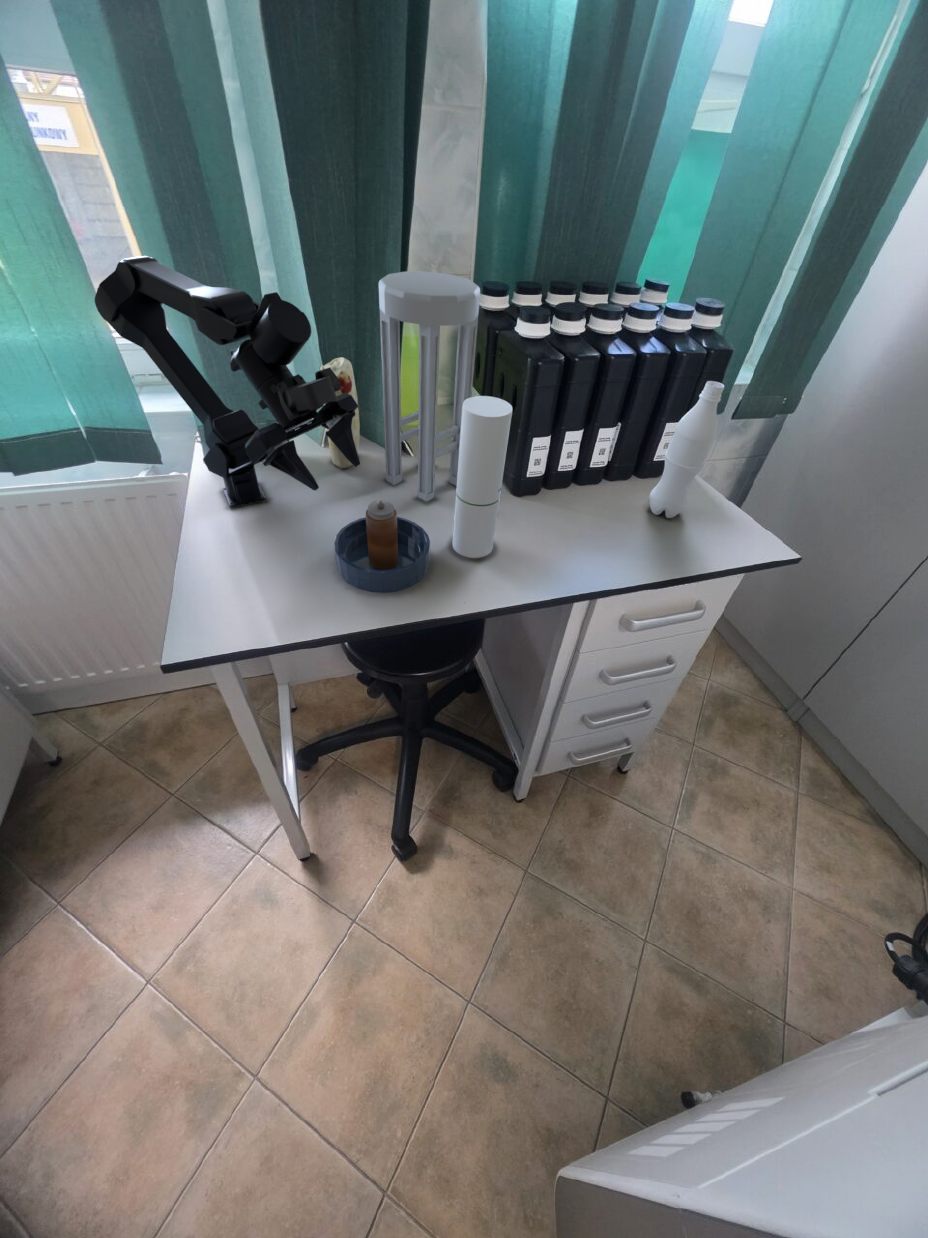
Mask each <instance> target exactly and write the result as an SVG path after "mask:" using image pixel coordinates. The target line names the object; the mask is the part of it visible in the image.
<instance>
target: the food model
mask: <svg viewBox="0 0 928 1238" xmlns="http://www.w3.org/2000/svg"><path fill="white" fill-rule="evenodd" d="M329 367H330V368H331V370H332V371H333V372H334V374H335V375H336V376H337V378H338V380H339V383H340V386H341V388H340V390H339V391H336V392H335V394H336V396H338V395H341V394H343V393H347V394H350V395H352V397H353V398H354V400H355V401H356V403H357V405H358V406H359V401H358V392H357V386H356V382H355V380H356V379H355V375H354V369H353V364H352V363H351V361H350V360H348V359H347V358H346V357H341V356H340V357H336V358H333V359H332V360H331V361H329V362H328V363H326V364H324V365H323V364H321V366H320V369H319V371H320V370H323V369H326V368H329ZM324 405H325V404H324ZM355 414H356V415H355V416H354V417H353V418H352V426H351V428H352V434H353V439H354V443H355V446H356V450H357V454H358V455H359V446H360V427H361V426H360V411H359V407H358V408H357V409H356V410H355ZM329 430H330V429H327V428H326V433H327V432H328V431H329ZM327 440H328V447H329V454H330V459H331V461H332V464H333V465H334V466H336V467H338V468H340V469H346V468H350V467H352V466H353V464H352V463H351V462H350V461H349V460H348V459H347V458H346V457H345V456H344V455H343V453H342V452H341V451H340V450H339V449H338V448H337V446H336V445H335V444H334V443H333V442H332V441H331V439H330V438H329V437H328V436H327Z"/></svg>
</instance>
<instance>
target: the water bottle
mask: <svg viewBox="0 0 928 1238" xmlns="http://www.w3.org/2000/svg"><path fill="white" fill-rule="evenodd" d="M724 390H725V384H723V383H721V382H719V381H715V380H707V381H706V383H705V385H704V387H703V389H702V390H701V393H700V394H699V395H698V398H699V399H698V400H697V402H696V403H695V405H694V406H692V408H690V409H689V411H687V412H686V413H685V414H684V415H683V416H682V417H681V419H679V421H678V422H677V424H676V426H675V427H674V433H673V435H672V438H671V440H670V442H669V445H668V447H667V451H666V452H665V454H664V466H663V473H662V475H661V478H660V480H659V481H658V483H657V485H656V486H655V487H654V488H653V489H652V490H651V491H650V494H649V496H648V505H649V508H650V511H651V512H652V514H653V515H656V516H659V515H660V514H662V513H663V511H664V515H665V518H667V519H673V518H674V517H676V516H677V515H679V514H680V513H681V512H682V511H683V510H684V509H685V507H686V505H687V503H688V491H689V488H690V486H691V483H692V481H693V480H694V478H695V477H696V476H697V475H698V474H699V473H700V472H701V471H702V470H703V467H704V466H705V461H706V459H707V458H708V455H709V453H710V450H711V448H712V446H713V443H714V441H715V440H716V439H717V437H718V436H717V435H718V429H719V424H718V415H717V413H718V411H717V408H718V404H719V403H720V402H721V400H722V394H723V391H724Z"/></svg>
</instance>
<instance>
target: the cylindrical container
mask: <svg viewBox="0 0 928 1238" xmlns="http://www.w3.org/2000/svg"><path fill="white" fill-rule="evenodd" d="M512 416H513V406H512V404H511V403H510V402H508V401H506V400H504V399H502V398H499V397H495V396H489V395H479V396H478V395H476V396H472V397H471V398H468V399H466V400H465V401H464V402H463V406H462V420H461V433H460V447H459V460H458V474H457V486H456V487H455V488H456V489H455V503H454V519H453V530H452V531H453V532H452V548H453V550H454V551H455V552H456V553H457V554H459V555H461V556H463V557H465V558H470V559H479V558H484V557H486V556H488V555H490V554H491V553H492V551H493V548H494V541H495V534H496V527H497V520H498V513H499V507H500V499H501V491H502V486H503V485H502V484H503V479H504V471H505V464H506V457H507V449H508V443H509V437H510V429H511V423H512Z"/></svg>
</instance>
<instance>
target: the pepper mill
mask: <svg viewBox="0 0 928 1238" xmlns="http://www.w3.org/2000/svg"><path fill="white" fill-rule="evenodd" d="M365 517H366V529H367V542H368V555H369V564H370V566H371V567H373V568H374V569H376V570H390V569H393V568H394V567H395V566H396V565H397V564H398V535H397V517H398V511H397V510H396V508H395V506H394V504H393V503H392V502H390V501H388V500H382V499H381V500H379V499H378V500H374V501H372V502H370V503H369V504H368V505H367V509H366V510H365Z"/></svg>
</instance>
